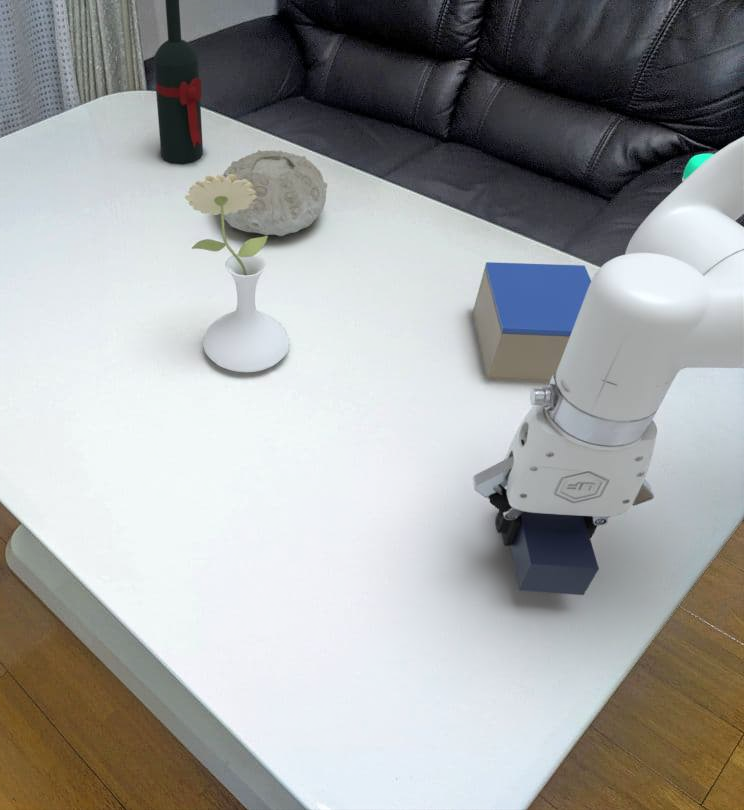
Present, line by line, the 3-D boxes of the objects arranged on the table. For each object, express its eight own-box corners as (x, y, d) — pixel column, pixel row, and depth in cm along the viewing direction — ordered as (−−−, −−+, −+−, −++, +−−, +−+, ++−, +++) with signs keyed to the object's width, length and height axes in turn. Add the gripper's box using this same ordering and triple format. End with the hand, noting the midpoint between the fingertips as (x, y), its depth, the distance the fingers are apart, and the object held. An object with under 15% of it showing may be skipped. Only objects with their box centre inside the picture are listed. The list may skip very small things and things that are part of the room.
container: (559, 318, 100) (577, 270, 94) (583, 386, 90) (605, 338, 85) (471, 314, 101) (484, 267, 96) (486, 382, 92) (501, 333, 86)
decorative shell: (292, 262, 112) (295, 203, 105) (194, 232, 119) (191, 174, 112) (342, 209, 122) (348, 152, 115) (250, 184, 130) (250, 129, 123)
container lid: (582, 270, 94) (584, 265, 94) (611, 338, 85) (613, 332, 84) (484, 267, 96) (486, 261, 95) (501, 333, 86) (503, 327, 86)
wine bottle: (180, 175, 133) (168, -8, 112) (153, 154, 139) (137, -23, 118) (217, 163, 136) (212, -18, 114) (189, 143, 142) (179, -32, 121)
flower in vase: (298, 333, 100) (309, 160, 82) (275, 388, 92) (282, 210, 75) (208, 316, 103) (200, 146, 86) (179, 367, 96) (164, 193, 78)
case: (498, 487, 75) (508, 459, 72) (555, 490, 75) (568, 462, 72) (518, 590, 67) (531, 564, 64) (583, 595, 66) (599, 568, 63)
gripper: (493, 433, 56) (451, 563, 69) (735, 444, 54) (645, 576, 67) (479, 367, 62) (443, 499, 74) (700, 375, 59) (623, 510, 72)
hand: (539, 534), depth 71 cm, fingers closed on case, 5 cm apart
